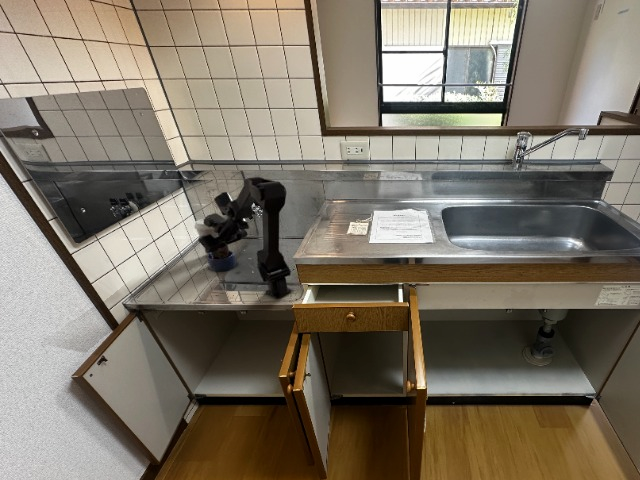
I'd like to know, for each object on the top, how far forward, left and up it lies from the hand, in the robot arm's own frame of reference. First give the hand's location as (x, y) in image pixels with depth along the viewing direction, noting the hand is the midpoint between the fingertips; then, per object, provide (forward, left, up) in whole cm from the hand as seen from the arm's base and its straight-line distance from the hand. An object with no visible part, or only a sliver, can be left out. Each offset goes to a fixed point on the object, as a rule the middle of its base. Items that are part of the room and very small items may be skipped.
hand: (215, 248), depth 128 cm
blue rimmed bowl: (-1, 0, -7) cm, 7 cm away
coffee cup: (+11, -4, -8) cm, 14 cm away
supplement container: (-2, 0, -7) cm, 7 cm away
